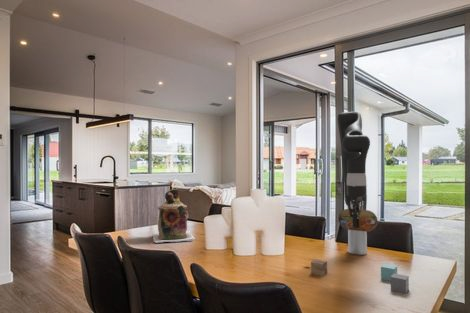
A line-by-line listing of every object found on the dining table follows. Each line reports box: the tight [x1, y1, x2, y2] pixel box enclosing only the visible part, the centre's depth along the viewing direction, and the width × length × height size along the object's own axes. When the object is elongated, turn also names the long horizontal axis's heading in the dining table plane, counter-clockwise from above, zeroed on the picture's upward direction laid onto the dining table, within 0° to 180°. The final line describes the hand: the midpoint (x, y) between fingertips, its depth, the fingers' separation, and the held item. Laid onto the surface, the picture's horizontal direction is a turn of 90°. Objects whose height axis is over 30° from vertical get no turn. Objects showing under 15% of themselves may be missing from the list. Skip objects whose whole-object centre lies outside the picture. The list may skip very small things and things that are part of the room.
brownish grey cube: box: [310, 259, 328, 277], centre depth 139 cm, size 5×5×5 cm
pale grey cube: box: [390, 273, 410, 295], centre depth 120 cm, size 5×5×5 cm
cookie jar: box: [152, 187, 195, 244], centre depth 208 cm, size 25×25×32 cm
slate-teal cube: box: [380, 263, 398, 282], centre depth 132 cm, size 5×5×5 cm
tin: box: [338, 208, 379, 232], centre depth 133 cm, size 15×3×8 cm, turn 52°
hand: (357, 227), depth 133 cm, fingers closed on tin, 2 cm apart
